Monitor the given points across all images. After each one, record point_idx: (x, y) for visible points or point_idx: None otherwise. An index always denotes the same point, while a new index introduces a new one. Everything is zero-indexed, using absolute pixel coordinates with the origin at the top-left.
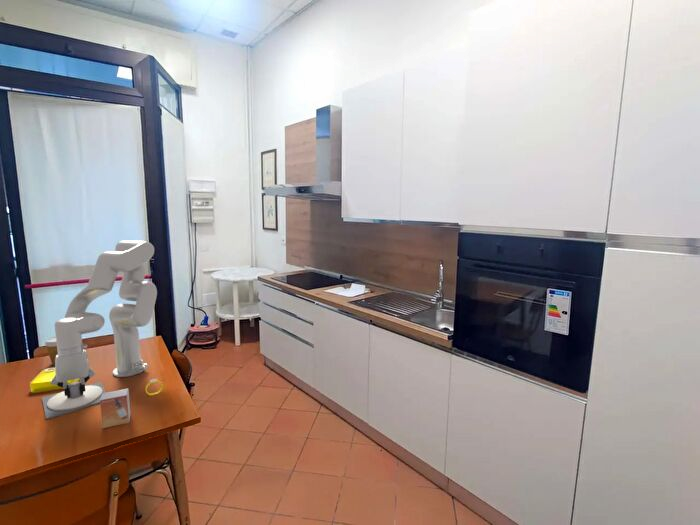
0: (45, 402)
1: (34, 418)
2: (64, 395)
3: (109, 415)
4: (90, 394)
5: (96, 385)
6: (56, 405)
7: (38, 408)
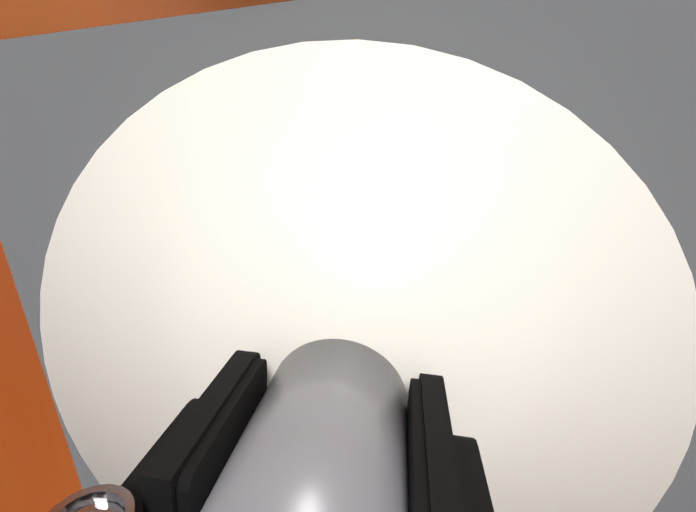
0: (29, 258)
1: (34, 500)
2: (204, 271)
3: None
4: (510, 479)
5: (678, 114)
6: None
7: (6, 325)
